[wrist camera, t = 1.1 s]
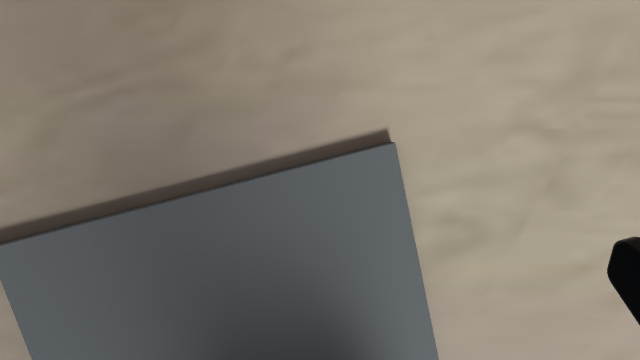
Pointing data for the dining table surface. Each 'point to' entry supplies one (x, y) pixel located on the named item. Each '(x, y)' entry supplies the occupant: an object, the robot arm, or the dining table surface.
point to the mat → (234, 273)
